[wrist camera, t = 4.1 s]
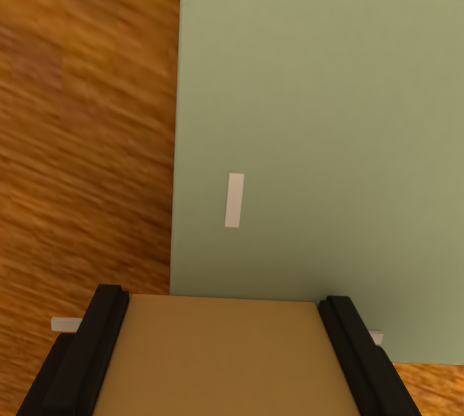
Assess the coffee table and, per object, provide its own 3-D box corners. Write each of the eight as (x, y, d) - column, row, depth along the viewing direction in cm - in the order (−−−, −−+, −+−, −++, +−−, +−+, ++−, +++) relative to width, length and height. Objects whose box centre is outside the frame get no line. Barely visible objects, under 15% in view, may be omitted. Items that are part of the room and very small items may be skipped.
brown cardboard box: (131, 357, 12) (73, 582, 7) (130, 292, 11) (64, 493, 6) (303, 364, 12) (366, 582, 7) (315, 301, 11) (396, 496, 6)
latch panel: (90, 372, 16) (61, 448, 13) (53, -367, 8) (-32, -587, 6) (602, 389, 17) (684, 459, 14) (934, -222, 10) (1234, -334, 7)
